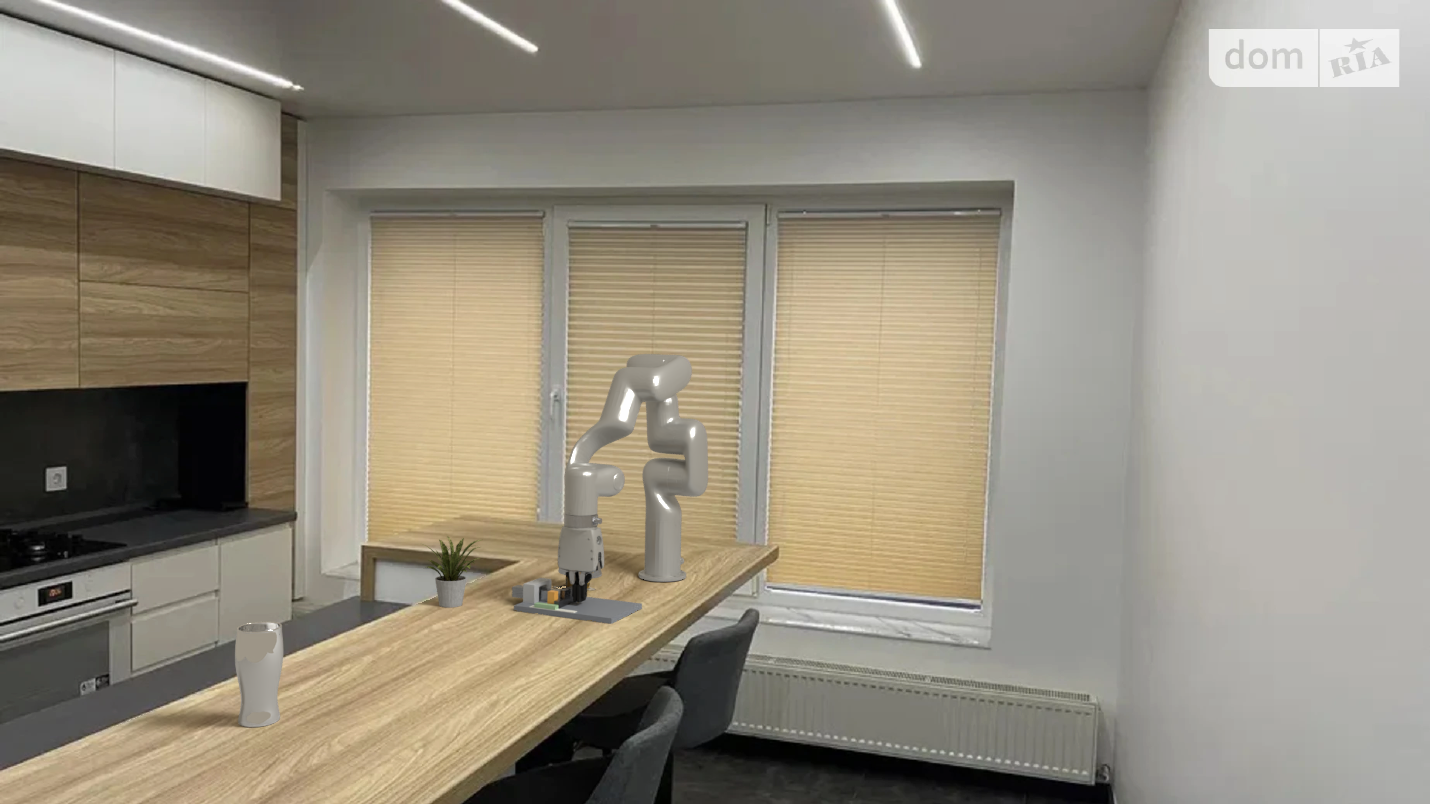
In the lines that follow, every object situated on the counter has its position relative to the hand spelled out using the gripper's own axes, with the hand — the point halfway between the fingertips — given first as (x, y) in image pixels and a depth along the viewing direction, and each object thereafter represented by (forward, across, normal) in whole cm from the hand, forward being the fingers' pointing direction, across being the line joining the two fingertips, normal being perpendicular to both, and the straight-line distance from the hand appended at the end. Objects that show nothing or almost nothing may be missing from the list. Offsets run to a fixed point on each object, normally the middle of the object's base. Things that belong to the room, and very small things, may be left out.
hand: (579, 600), depth 237 cm
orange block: (+1, +4, +5) cm, 6 cm away
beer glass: (+2, +10, +84) cm, 85 cm away
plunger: (+1, +10, +1) cm, 10 cm away
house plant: (+2, +27, +9) cm, 29 cm away
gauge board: (+2, 0, 0) cm, 2 cm away
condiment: (+2, +12, -18) cm, 22 cm away
